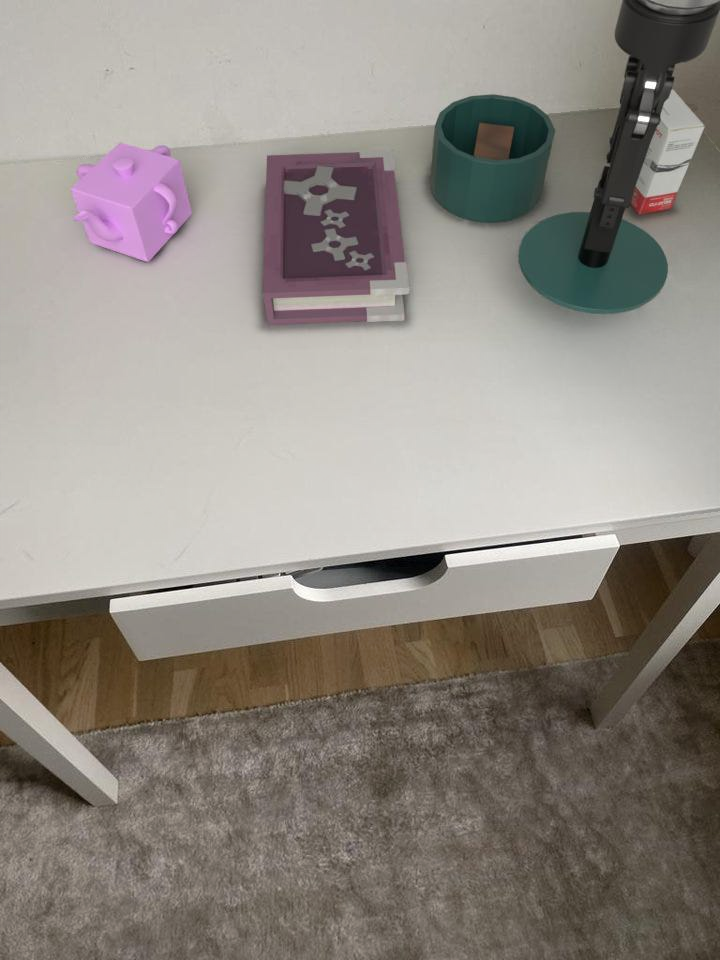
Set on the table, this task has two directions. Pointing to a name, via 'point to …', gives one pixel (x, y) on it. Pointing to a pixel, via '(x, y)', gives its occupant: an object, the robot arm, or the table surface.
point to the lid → (592, 264)
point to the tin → (484, 182)
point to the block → (493, 141)
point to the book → (333, 239)
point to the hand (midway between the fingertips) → (599, 236)
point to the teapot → (132, 200)
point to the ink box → (667, 157)
